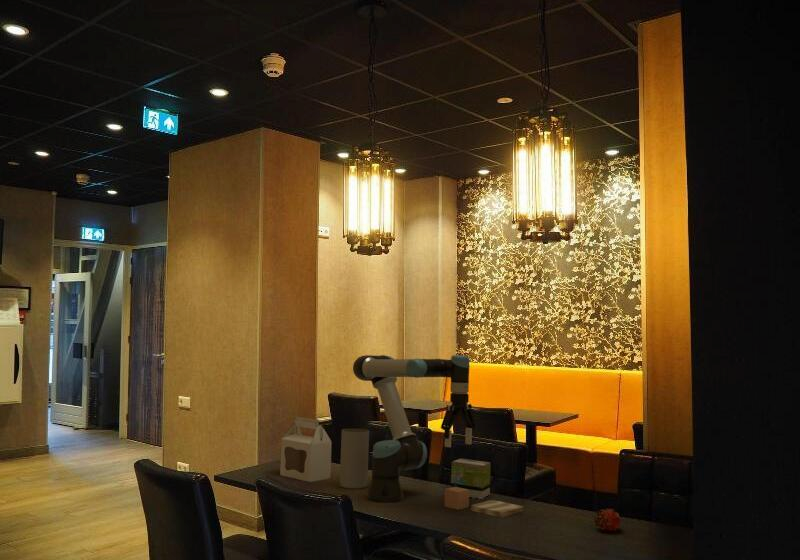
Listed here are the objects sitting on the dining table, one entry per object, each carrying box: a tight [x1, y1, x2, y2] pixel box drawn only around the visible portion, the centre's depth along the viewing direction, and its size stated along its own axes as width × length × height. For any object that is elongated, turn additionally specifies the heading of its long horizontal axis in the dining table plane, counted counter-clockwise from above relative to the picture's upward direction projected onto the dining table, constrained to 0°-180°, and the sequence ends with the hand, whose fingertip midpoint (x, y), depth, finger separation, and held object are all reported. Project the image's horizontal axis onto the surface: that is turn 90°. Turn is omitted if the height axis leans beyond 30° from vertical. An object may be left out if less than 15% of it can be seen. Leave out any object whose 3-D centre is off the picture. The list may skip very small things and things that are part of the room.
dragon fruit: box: [594, 508, 622, 533], centre depth 244 cm, size 8×8×12 cm
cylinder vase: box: [339, 428, 370, 490], centre depth 307 cm, size 12×12×25 cm
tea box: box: [450, 458, 492, 500], centre depth 295 cm, size 15×10×15 cm, turn 62°
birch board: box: [470, 499, 525, 519], centre depth 268 cm, size 15×15×2 cm
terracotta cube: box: [444, 487, 470, 511], centre depth 273 cm, size 7×7×7 cm
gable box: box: [279, 416, 333, 483], centre depth 325 cm, size 22×13×28 cm, turn 49°
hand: (458, 445), depth 275 cm, fingers open, 13 cm apart
